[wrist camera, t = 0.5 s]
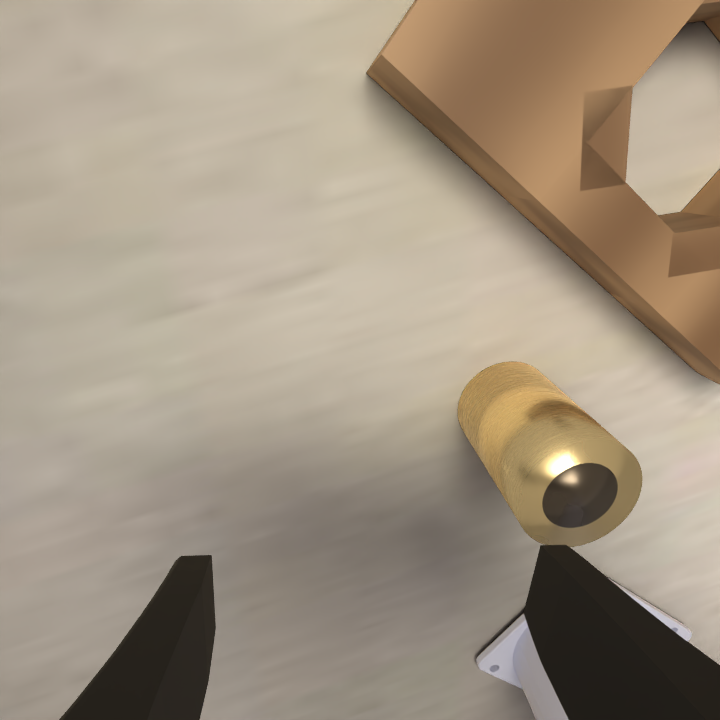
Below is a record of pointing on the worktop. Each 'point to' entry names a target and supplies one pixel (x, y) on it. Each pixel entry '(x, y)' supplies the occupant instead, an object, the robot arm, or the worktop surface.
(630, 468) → the bushing
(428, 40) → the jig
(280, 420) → the worktop surface
